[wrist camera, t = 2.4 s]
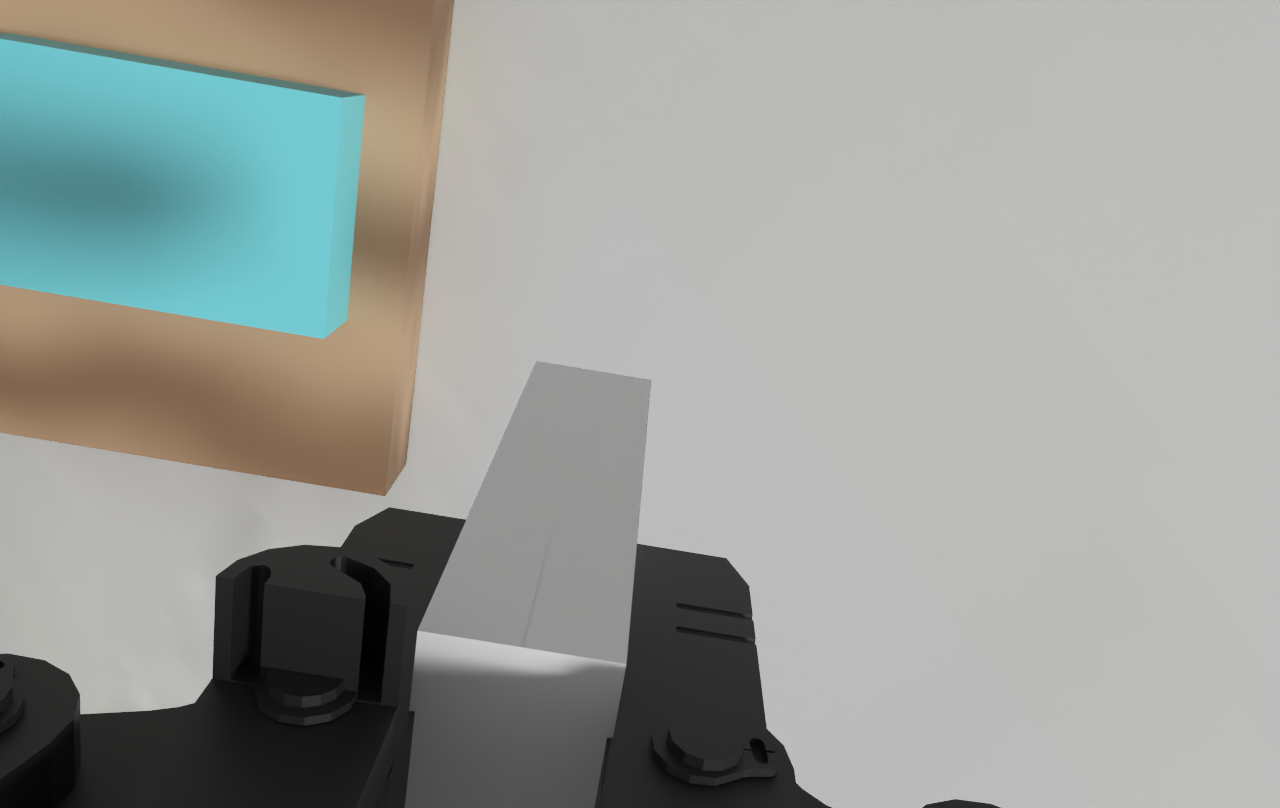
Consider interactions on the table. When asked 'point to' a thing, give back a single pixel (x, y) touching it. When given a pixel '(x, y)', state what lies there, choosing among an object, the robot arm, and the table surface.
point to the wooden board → (235, 354)
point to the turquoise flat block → (177, 186)
